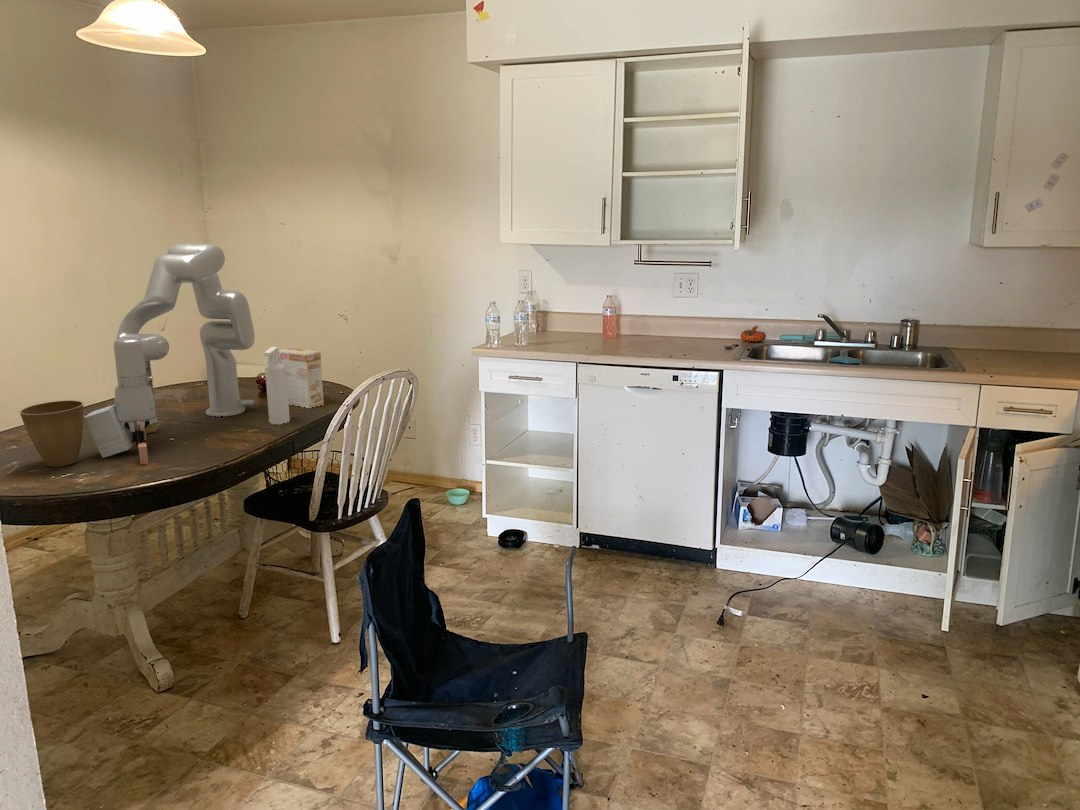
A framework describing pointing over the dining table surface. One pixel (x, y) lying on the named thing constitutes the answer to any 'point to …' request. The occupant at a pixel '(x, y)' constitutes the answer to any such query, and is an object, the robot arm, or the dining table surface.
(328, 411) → the dining table surface
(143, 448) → the pinkish brown rectangular block
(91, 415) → the supplement box
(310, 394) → the coffeecake box
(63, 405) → the plant pot
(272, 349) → the white pump bottle
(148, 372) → the paper tube
